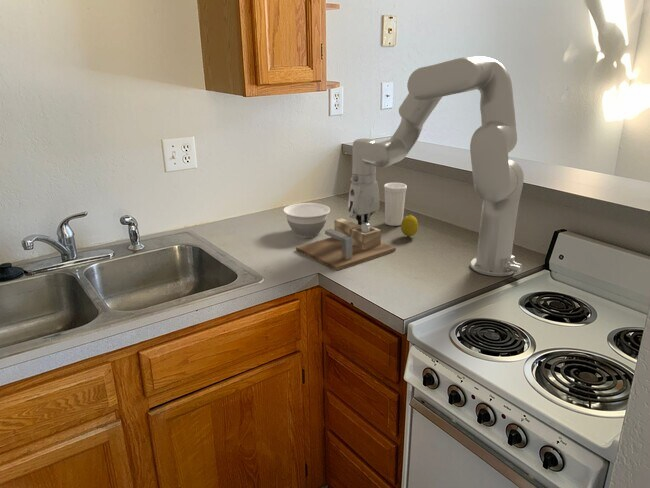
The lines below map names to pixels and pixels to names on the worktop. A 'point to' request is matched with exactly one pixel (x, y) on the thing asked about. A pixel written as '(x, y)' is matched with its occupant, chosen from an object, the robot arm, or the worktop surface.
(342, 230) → the link
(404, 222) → the lemon
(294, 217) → the bowl
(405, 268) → the worktop surface
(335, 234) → the bracket
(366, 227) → the ball
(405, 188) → the cup
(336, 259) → the board
